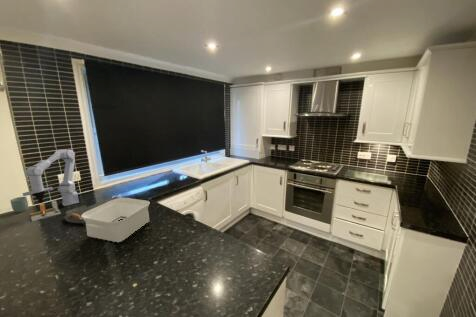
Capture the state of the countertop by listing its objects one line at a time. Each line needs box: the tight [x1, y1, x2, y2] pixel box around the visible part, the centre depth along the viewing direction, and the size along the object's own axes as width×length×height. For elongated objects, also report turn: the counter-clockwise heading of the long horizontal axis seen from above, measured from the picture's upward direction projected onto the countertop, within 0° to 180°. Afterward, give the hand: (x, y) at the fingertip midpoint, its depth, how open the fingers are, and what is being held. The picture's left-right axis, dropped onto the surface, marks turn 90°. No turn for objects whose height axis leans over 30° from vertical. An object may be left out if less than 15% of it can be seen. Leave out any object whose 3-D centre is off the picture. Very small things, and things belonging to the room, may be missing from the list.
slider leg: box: [39, 202, 47, 215], centre depth 138 cm, size 2×11×6 cm, turn 50°
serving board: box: [63, 196, 122, 226], centre depth 142 cm, size 39×23×6 cm, turn 159°
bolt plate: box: [30, 209, 62, 222], centre depth 136 cm, size 14×8×1 cm, turn 139°
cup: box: [10, 196, 29, 213], centre depth 141 cm, size 8×8×10 cm
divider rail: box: [30, 200, 59, 217], centre depth 138 cm, size 14×11×6 cm
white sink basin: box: [81, 197, 151, 244], centre depth 118 cm, size 34×29×15 cm
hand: (40, 202), depth 134 cm, fingers closed
